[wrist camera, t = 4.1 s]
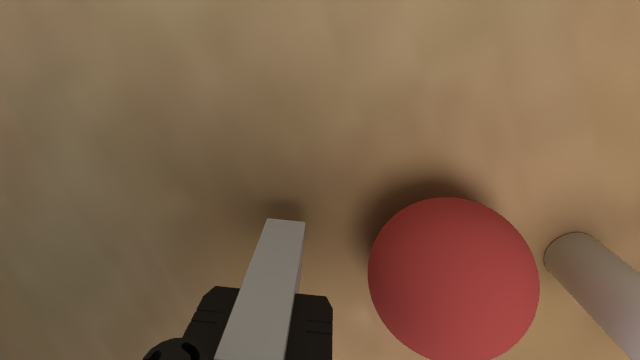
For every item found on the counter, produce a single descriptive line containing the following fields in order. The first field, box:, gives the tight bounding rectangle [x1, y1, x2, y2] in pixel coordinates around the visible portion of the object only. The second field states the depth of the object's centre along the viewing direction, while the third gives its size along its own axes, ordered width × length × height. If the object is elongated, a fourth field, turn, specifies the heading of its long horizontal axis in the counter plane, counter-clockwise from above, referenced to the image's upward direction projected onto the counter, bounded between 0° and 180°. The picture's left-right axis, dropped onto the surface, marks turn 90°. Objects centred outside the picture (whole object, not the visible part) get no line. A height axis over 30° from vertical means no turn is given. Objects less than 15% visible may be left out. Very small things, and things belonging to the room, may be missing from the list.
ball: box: [368, 197, 540, 360], centre depth 14 cm, size 6×6×6 cm
